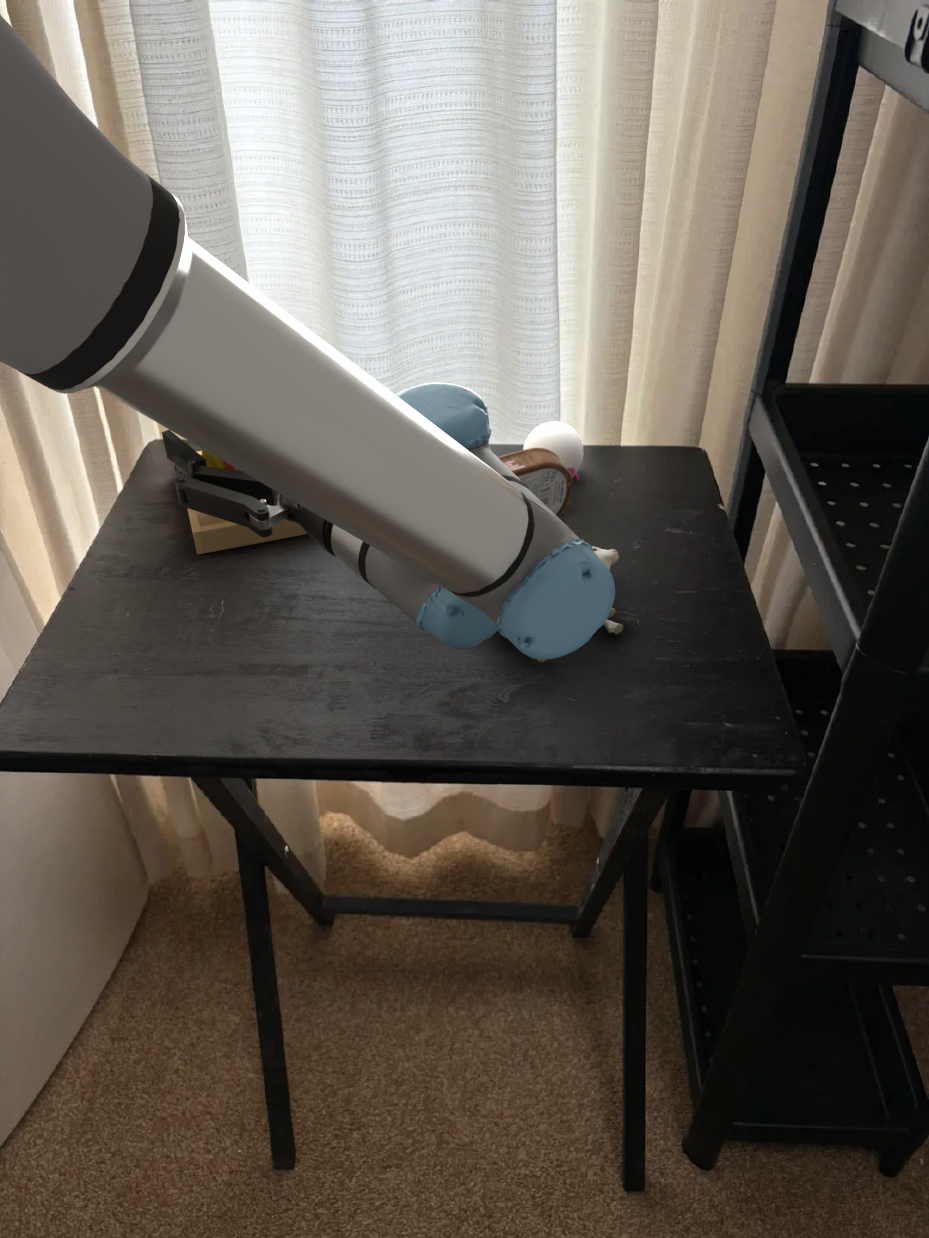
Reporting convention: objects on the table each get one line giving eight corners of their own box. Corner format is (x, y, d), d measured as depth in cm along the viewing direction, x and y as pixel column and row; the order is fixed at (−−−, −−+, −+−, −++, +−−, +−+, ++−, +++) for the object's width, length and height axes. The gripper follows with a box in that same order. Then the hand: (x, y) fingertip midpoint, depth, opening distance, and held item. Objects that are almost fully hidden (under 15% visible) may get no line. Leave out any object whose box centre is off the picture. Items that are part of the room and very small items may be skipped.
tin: (557, 509, 101) (563, 434, 95) (574, 526, 99) (580, 450, 93) (415, 551, 96) (412, 475, 90) (429, 571, 94) (427, 493, 88)
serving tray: (197, 554, 96) (192, 533, 94) (180, 475, 105) (175, 454, 104) (342, 527, 99) (340, 505, 97) (313, 453, 109) (310, 432, 107)
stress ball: (529, 485, 110) (494, 439, 106) (595, 446, 107) (561, 398, 103) (533, 525, 104) (496, 478, 100) (603, 486, 101) (567, 436, 98)
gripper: (244, 619, 84) (119, 500, 96) (473, 504, 95) (335, 412, 108) (230, 544, 79) (100, 429, 91) (473, 433, 90) (329, 344, 103)
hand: (227, 420), depth 99 cm, fingers open, 12 cm apart
